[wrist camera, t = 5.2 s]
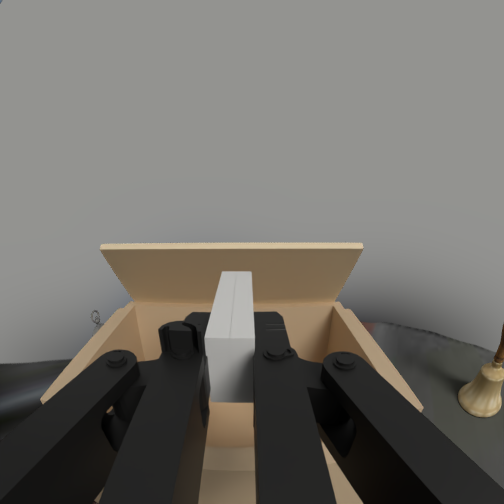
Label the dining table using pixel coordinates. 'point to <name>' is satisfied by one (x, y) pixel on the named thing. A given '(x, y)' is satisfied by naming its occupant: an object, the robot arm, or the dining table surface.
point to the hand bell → (485, 387)
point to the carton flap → (232, 259)
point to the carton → (240, 414)
